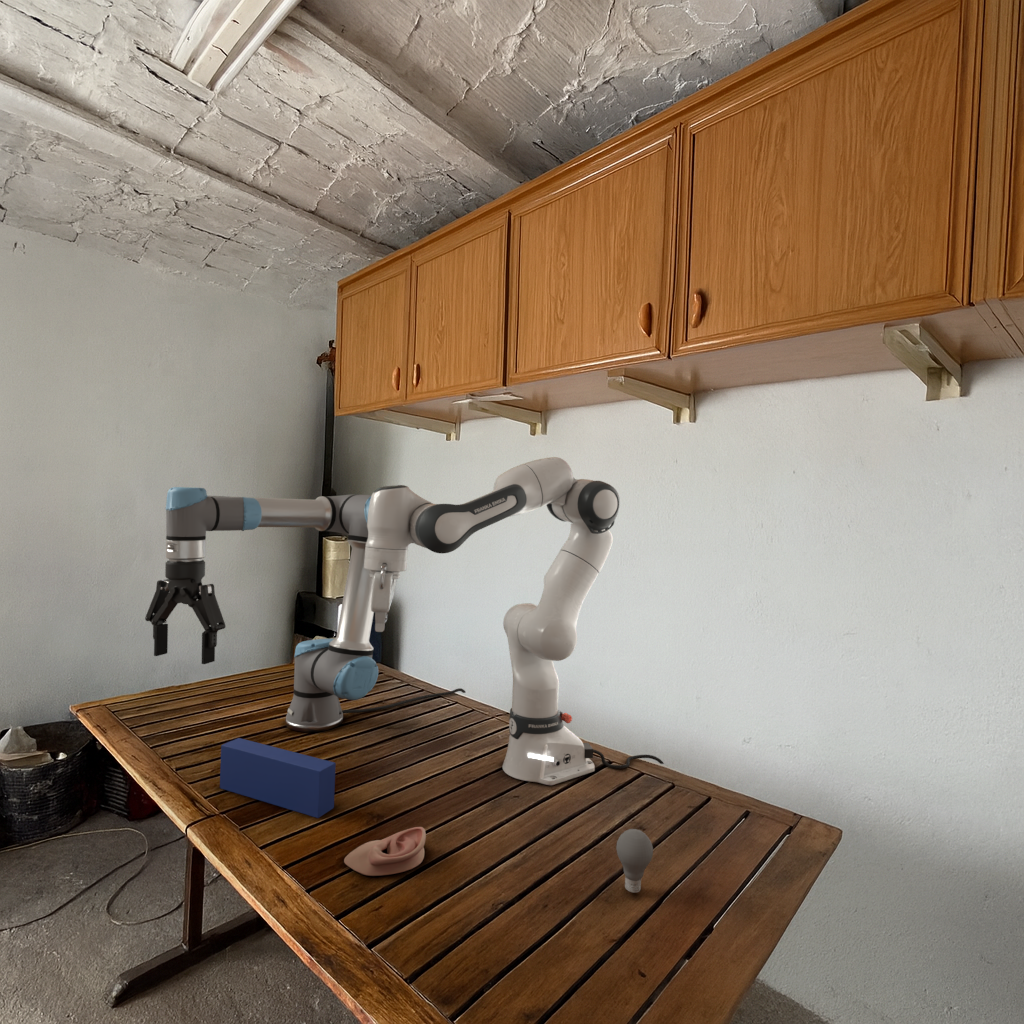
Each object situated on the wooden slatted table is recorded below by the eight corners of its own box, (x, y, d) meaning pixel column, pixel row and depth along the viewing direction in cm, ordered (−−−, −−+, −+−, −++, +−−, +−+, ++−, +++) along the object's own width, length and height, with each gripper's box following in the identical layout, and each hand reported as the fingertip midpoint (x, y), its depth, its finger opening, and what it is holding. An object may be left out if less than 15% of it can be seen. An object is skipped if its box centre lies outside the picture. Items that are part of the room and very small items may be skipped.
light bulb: (610, 879, 108) (613, 822, 108) (644, 879, 109) (647, 822, 109) (619, 902, 102) (622, 840, 102) (655, 901, 103) (658, 840, 103)
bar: (219, 788, 136) (221, 745, 135) (237, 779, 140) (238, 737, 140) (318, 818, 125) (319, 771, 125) (334, 807, 129) (335, 762, 129)
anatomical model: (336, 847, 108) (365, 815, 119) (335, 870, 108) (364, 836, 119) (410, 859, 105) (432, 825, 116) (409, 883, 105) (431, 846, 116)
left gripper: (127, 557, 136) (126, 655, 136) (216, 565, 127) (214, 670, 127) (158, 554, 143) (157, 647, 143) (244, 562, 134) (242, 661, 134)
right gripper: (399, 567, 124) (394, 637, 124) (402, 558, 144) (397, 618, 144) (366, 565, 123) (361, 636, 123) (374, 556, 143) (369, 617, 143)
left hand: (184, 658), depth 135 cm, fingers open, 13 cm apart
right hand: (381, 626), depth 134 cm, fingers open, 8 cm apart
